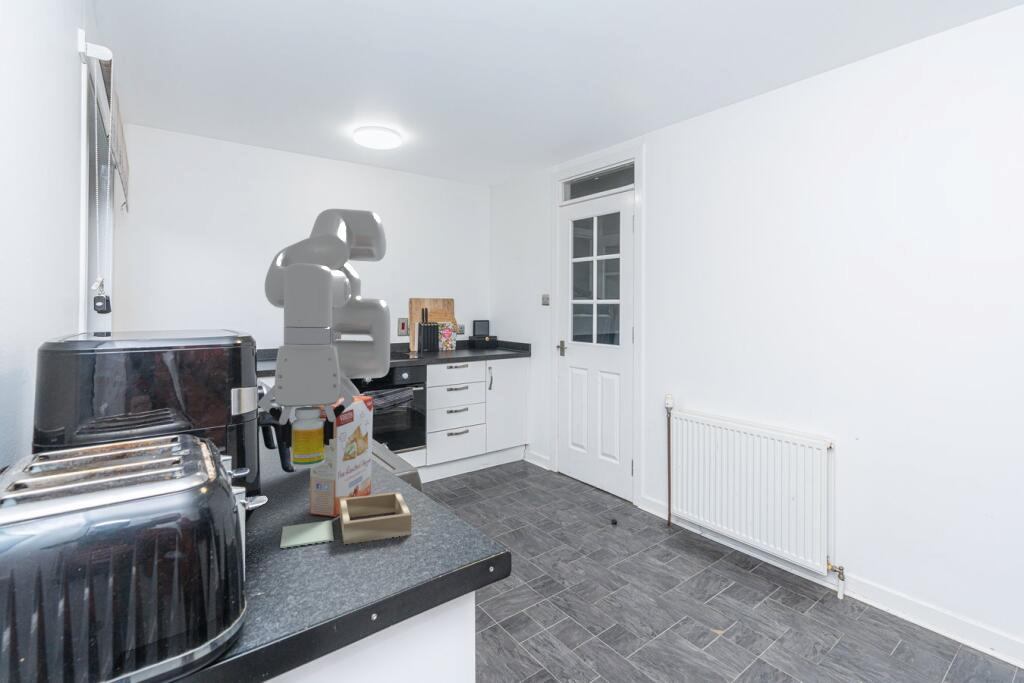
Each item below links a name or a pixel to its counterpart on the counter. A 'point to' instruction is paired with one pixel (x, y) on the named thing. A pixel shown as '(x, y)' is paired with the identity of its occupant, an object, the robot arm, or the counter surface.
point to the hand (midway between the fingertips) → (307, 444)
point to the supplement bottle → (307, 438)
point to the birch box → (374, 526)
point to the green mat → (307, 534)
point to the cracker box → (344, 459)
